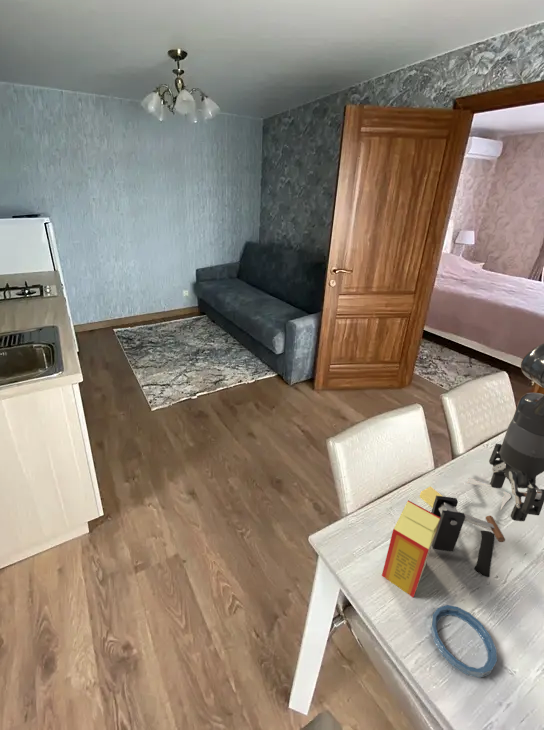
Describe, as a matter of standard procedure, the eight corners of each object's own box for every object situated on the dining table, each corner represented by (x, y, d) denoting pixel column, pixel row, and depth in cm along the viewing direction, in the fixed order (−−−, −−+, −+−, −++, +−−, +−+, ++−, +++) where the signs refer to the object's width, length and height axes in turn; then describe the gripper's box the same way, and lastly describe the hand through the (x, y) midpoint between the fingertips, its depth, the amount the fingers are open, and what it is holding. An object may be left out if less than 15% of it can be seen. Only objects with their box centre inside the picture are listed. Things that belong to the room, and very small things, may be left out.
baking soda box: (412, 601, 72) (428, 549, 65) (380, 579, 76) (393, 528, 69) (425, 566, 78) (441, 516, 72) (395, 548, 82) (408, 498, 76)
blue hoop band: (476, 619, 69) (480, 610, 68) (503, 687, 59) (508, 678, 58) (422, 609, 70) (425, 600, 69) (440, 674, 61) (443, 665, 60)
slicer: (453, 532, 86) (466, 494, 81) (467, 564, 79) (482, 525, 74) (411, 525, 88) (421, 488, 83) (420, 556, 80) (432, 517, 75)
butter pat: (427, 494, 96) (430, 486, 95) (441, 505, 93) (444, 497, 92) (418, 500, 95) (420, 491, 94) (431, 511, 91) (434, 502, 90)
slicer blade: (489, 522, 81) (495, 515, 80) (501, 544, 76) (508, 537, 75) (435, 502, 82) (441, 495, 81) (444, 523, 77) (450, 516, 76)
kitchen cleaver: (469, 475, 102) (511, 490, 95) (468, 480, 102) (510, 495, 96) (443, 554, 80) (496, 581, 73) (443, 559, 80) (495, 586, 74)
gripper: (574, 472, 62) (545, 534, 68) (527, 422, 75) (506, 479, 81) (528, 467, 63) (503, 529, 69) (489, 419, 76) (472, 475, 82)
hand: (505, 502), depth 75 cm, fingers open, 8 cm apart
